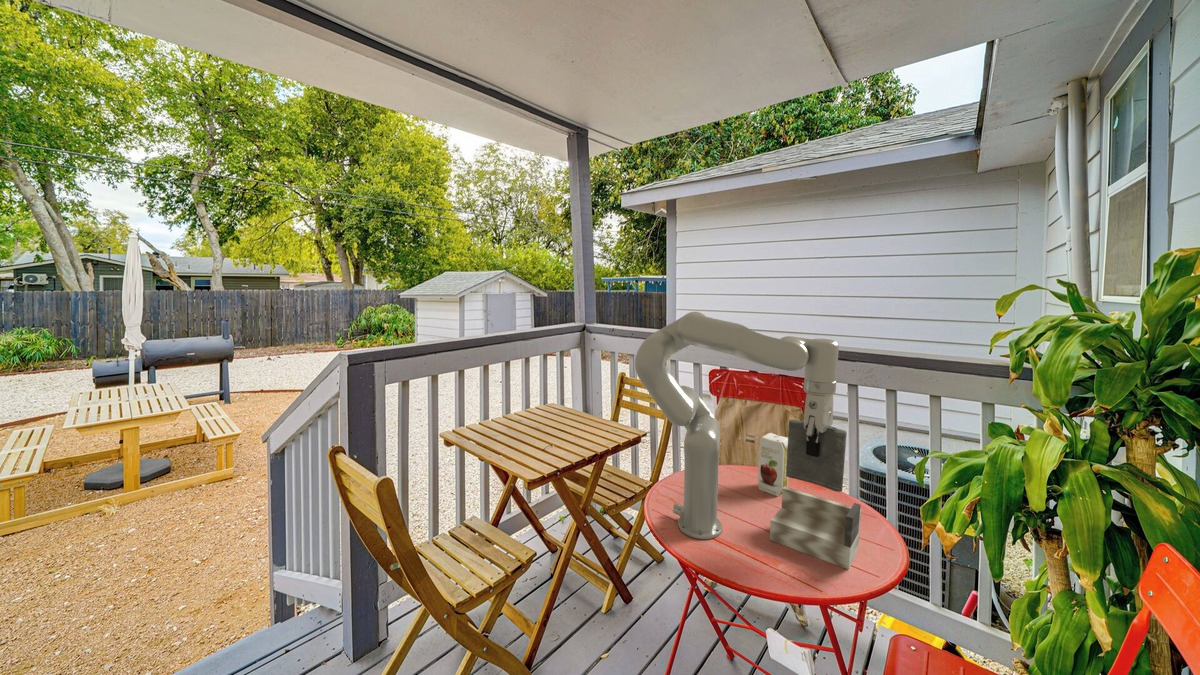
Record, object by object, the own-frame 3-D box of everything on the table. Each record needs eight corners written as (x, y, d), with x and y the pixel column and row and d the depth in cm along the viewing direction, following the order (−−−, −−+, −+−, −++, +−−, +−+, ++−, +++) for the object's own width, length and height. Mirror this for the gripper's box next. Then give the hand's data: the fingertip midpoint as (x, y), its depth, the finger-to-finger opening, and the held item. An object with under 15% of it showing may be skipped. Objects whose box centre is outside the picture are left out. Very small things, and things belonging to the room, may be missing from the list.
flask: (789, 471, 130) (792, 410, 127) (844, 487, 121) (849, 421, 118) (784, 476, 128) (787, 413, 125) (840, 492, 118) (845, 425, 115)
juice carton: (765, 482, 163) (768, 431, 160) (789, 490, 157) (792, 437, 154) (755, 489, 158) (757, 436, 155) (779, 498, 151) (782, 443, 149)
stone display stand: (769, 539, 129) (772, 493, 127) (782, 524, 136) (784, 480, 134) (848, 569, 116) (852, 518, 114) (857, 551, 124) (862, 502, 121)
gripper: (826, 395, 111) (820, 467, 114) (843, 382, 124) (838, 447, 127) (794, 390, 116) (789, 459, 119) (814, 378, 129) (809, 440, 131)
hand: (815, 452), depth 123 cm, fingers closed on flask, 3 cm apart
